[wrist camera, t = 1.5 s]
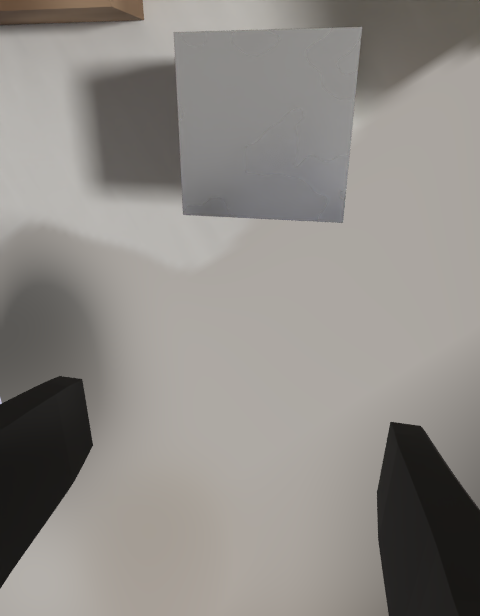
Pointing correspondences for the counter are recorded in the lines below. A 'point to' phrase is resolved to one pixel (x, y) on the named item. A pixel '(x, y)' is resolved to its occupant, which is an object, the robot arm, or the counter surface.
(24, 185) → the counter surface
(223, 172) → the steel tea tin
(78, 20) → the walnut block
